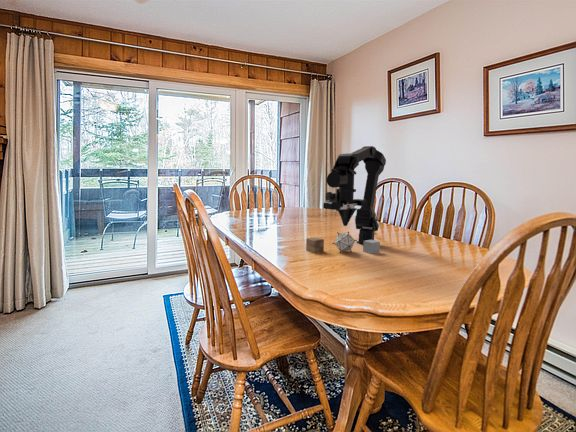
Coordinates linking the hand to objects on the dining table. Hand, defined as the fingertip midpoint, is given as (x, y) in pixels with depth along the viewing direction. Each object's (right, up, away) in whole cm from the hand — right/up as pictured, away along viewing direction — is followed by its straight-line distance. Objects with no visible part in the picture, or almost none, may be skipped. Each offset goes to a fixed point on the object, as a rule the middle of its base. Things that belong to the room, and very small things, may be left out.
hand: (345, 225), depth 140 cm
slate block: (+11, -11, +2) cm, 15 cm away
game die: (0, -11, +2) cm, 11 cm away
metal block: (-12, -10, +3) cm, 16 cm away
